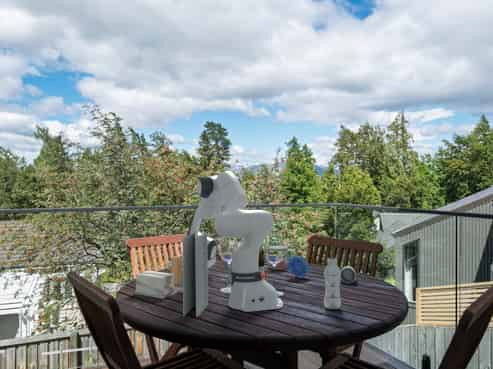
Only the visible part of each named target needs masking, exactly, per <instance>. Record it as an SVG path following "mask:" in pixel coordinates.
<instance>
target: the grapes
mask: <svg viewBox="0 0 493 369" xmlns="http://www.w3.org/2000/svg"><path fill="white" fill-rule="evenodd" d="M309 265H310V264H309V263H308V261H305V257H303V256H298V255H297V254H296V255H293V257H289V258H288V264H287V267H288V268H287V269H289V270H288V271H289V274H291V275H294V276H295V278H297V279H300V278H306V276H307V274H309V272H310V269H309V268H308V267H309Z"/></svg>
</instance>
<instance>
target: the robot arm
mask: <svg viewBox="0 0 493 369" xmlns="http://www.w3.org/2000/svg"><path fill="white" fill-rule="evenodd" d="M196 192H197V195H198V196H199V197H200V203H199V205H198V206H196V207H195V208H194V211H193V213H192V216H191V220H190V222H189V223H190V224H189V226H188V231H187V233H186V235H185V236H187V235H190V234H192V233H195V234H196V237H198V236H201V235H203V234H204V233H201V231H200V228H201V227H200V226H201V224H202V221H203V220H212V219H214V222H213V225H214V226H213V227H214V231H215V233H216V234H217V235H218V236H219V237H221V238H227V239H237V238H238V239H239V238H243V239H242V242H241V243H240V244H239V245H238V246H237V247H234V248H233V249H232V252H231V270H230V277H229V278H230V279H229V280H230V285H231V287H230V296H229V300H228V307H229V308H232V309H233V310H240V311H243V312H246V313H248V312H258V311H267V310H277V309H283V307H284V303H283V300H282V299H281V298H280V297H278V293H277V289H276V288H275V287H274V286H273V285H271V284H270V283H269V282H268V281H266V280H265V278H266V274H265V272H264V271H262V270H260V269H259V261H260V260H259V258H260V250H261V247H262V244H263V242H264V240H265V239H266V238H267V237H268V235H269V234H271V232H273V229H274V226H275V219H274V217H273V215H272V213H270V212H269V211H267V210H261V209H252V210H251V209H250V210H249V209H247V210H245V208H246V207H247V205H248V196H247V194H246V192H245V189H244V187H243V182H242V180H241V178H240V177H239V176H237V175H236V174H234V173H233V172H232V171H230V170H225V171H221V172H220V173H218V175H217V174H216V175H209V176H208V175H204V176H200V177H199V178H198V179H197V182H196ZM207 246H208V269H209V268H210V267H212V266H213V265H214V264H215V263H216V261H217V260H216V259H217V258H216V255H217V253H218V243H217V241H216V239H213V238H211V237H209V236H207ZM166 270H168V271H171V260H169V261H167V262H166ZM182 273H183V259H182Z"/></svg>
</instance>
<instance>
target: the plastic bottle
mask: <svg viewBox="0 0 493 369" xmlns="http://www.w3.org/2000/svg"><path fill="white" fill-rule="evenodd" d="M326 259H327V262H326V263H327V265H326V267H325V268H324V270H323V276H324V283H325V288H324V291H325V292H324V297H323V305H324V307H325V308H326V309H327V310H338V309H340V307H341V305H342V299H341V294H340V293H341V292H340V282H341V280H340V276H341V269H340V267H339V265H338V259H337V257H327V258H326Z"/></svg>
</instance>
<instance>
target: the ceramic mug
mask: <svg viewBox="0 0 493 369" xmlns="http://www.w3.org/2000/svg"><path fill="white" fill-rule="evenodd" d="M340 271H341V276H340V281H342V282H343V283H345V284H351V283H354V282H355V280H356V277H357V273H356V270H355V269H354V267H352V266H349V265H346V266H344V267H343V268H342V269H340Z"/></svg>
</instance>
